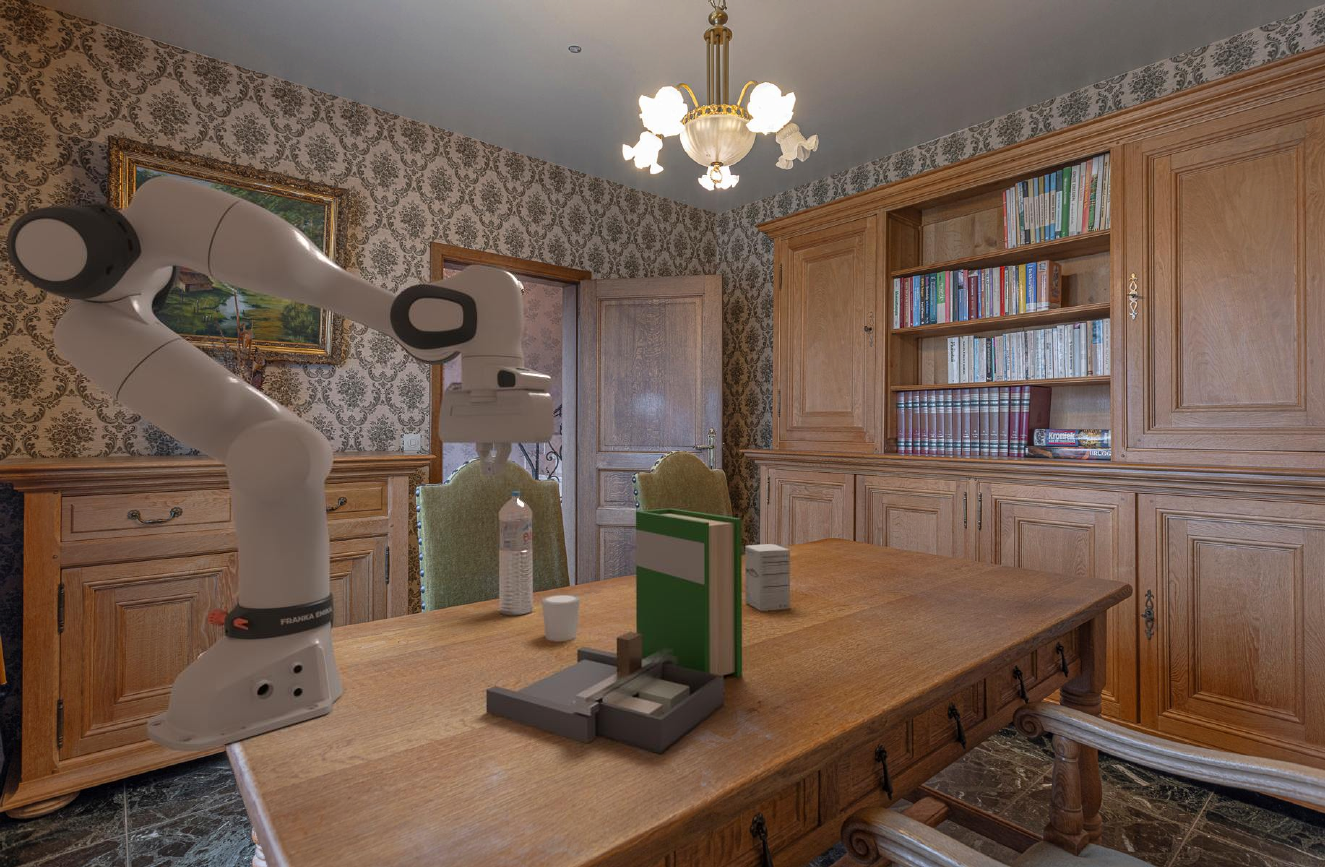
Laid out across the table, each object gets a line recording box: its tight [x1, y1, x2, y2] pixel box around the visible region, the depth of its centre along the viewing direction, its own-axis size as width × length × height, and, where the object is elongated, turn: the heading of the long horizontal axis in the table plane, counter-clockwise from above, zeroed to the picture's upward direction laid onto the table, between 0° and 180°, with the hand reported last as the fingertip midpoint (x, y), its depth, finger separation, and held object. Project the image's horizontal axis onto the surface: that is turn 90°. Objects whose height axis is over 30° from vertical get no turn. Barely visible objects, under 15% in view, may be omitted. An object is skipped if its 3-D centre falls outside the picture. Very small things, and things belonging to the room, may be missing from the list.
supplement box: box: [744, 543, 791, 612], centre depth 141 cm, size 7×7×13 cm
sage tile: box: [639, 679, 690, 713], centre depth 89 cm, size 5×5×2 cm
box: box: [595, 663, 725, 755], centre depth 86 cm, size 16×12×4 cm
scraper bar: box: [571, 631, 678, 716], centre depth 88 cm, size 21×3×8 cm, turn 148°
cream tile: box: [617, 696, 663, 717], centre depth 83 cm, size 5×5×2 cm
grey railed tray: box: [485, 646, 644, 744], centre depth 92 cm, size 21×17×3 cm
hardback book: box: [635, 508, 743, 679], centre depth 105 cm, size 18×7×24 cm, turn 37°
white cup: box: [541, 594, 581, 642], centre depth 120 cm, size 7×7×7 cm
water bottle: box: [498, 490, 534, 617], centre depth 137 cm, size 7×7×25 cm
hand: (493, 474), depth 96 cm, fingers closed
